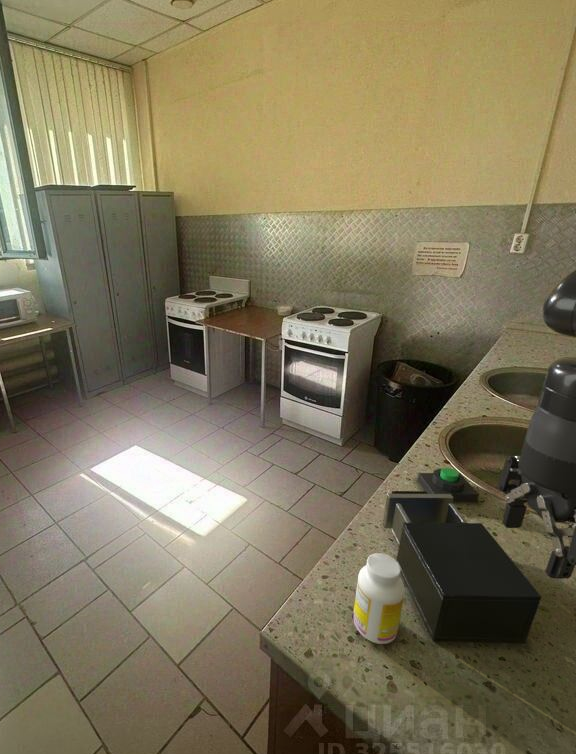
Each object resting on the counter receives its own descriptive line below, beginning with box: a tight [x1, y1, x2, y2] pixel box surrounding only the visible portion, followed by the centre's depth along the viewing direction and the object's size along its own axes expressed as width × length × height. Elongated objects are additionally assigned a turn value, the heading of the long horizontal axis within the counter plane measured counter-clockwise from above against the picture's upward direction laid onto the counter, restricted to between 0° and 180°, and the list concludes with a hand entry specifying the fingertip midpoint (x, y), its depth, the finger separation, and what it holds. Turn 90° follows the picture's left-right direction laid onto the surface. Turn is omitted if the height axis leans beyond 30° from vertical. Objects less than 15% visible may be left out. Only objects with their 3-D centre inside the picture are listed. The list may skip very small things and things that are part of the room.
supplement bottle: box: [353, 552, 406, 645], centre depth 61 cm, size 7×7×13 cm
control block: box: [417, 468, 480, 503], centre depth 93 cm, size 10×8×4 cm
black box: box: [396, 522, 542, 644], centre depth 66 cm, size 15×14×10 cm
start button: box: [440, 467, 460, 482], centre depth 92 cm, size 4×4×2 cm
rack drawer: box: [382, 490, 469, 547], centre depth 77 cm, size 18×13×8 cm
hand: (531, 549), depth 53 cm, fingers open, 8 cm apart
